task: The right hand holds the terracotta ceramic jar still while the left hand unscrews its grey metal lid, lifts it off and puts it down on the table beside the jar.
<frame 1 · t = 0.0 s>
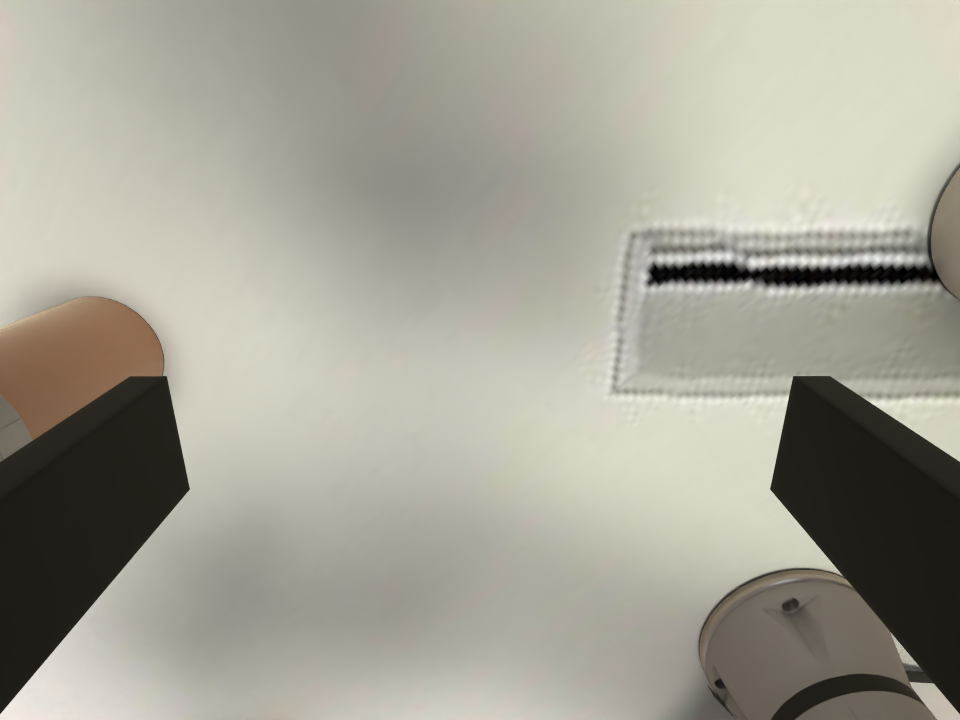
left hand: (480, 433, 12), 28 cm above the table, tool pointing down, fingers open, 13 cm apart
jar: (105, 353, 41), on the table
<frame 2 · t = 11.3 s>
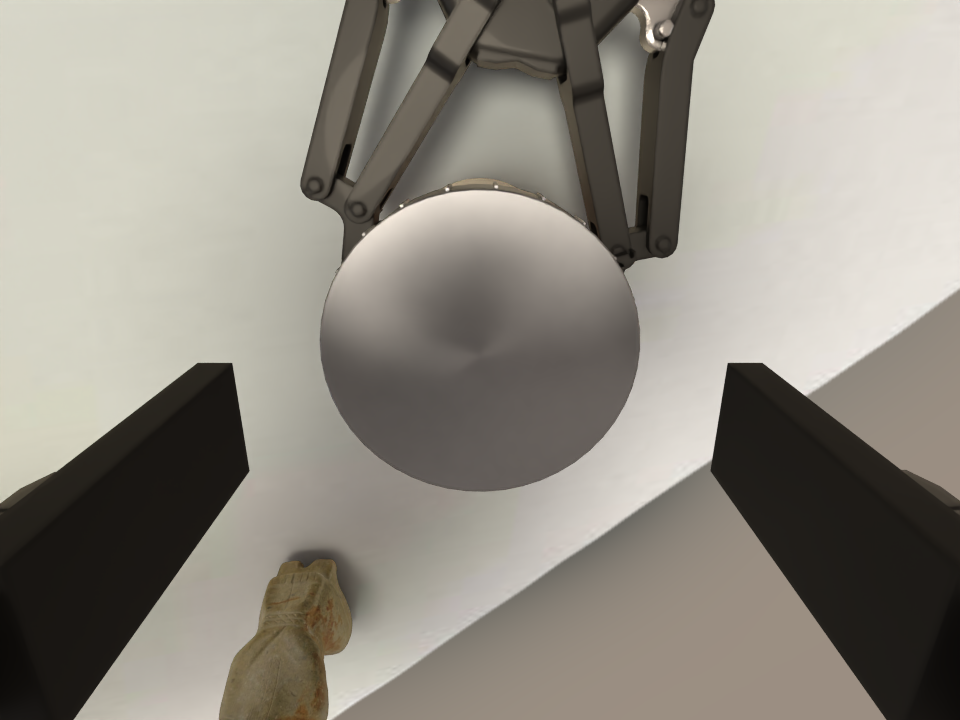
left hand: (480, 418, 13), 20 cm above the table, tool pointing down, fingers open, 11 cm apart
right hand: (464, 377, 28), fingers closed on jar, 8 cm apart
sculpture: (318, 586, 40), on the table
lid: (480, 351, 17), point 15 cm above the table, screwed on, not yet turned
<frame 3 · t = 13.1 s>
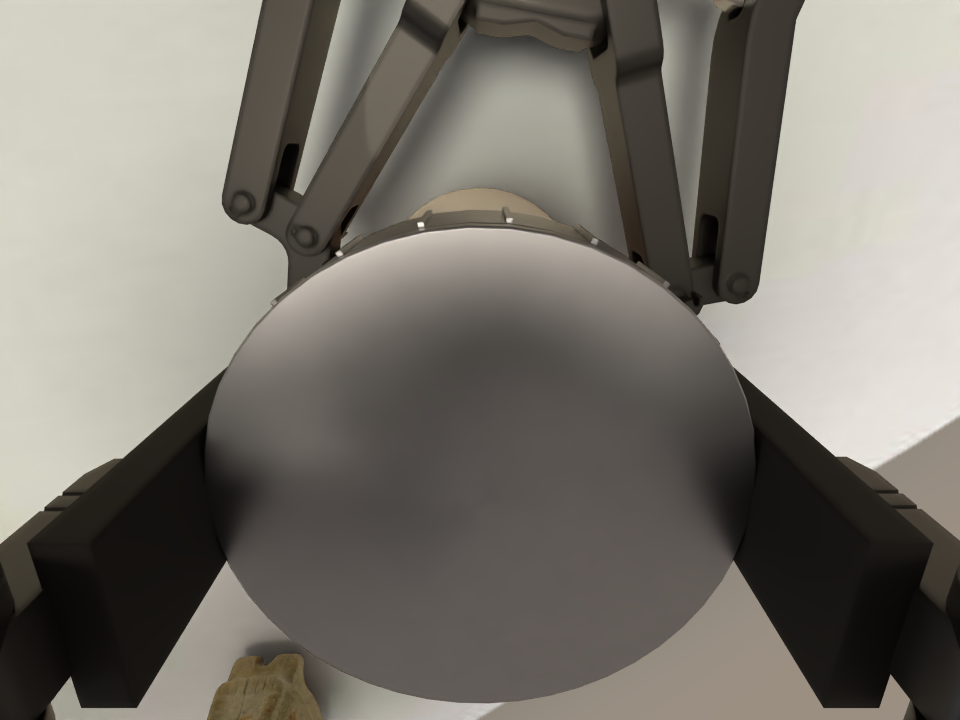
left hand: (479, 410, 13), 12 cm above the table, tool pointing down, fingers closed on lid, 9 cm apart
right hand: (458, 458, 20), fingers closed on jar, 8 cm apart
sculpture: (283, 682, 33), on the table
lid: (480, 493, 10), point 15 cm above the table, screwed on, not yet turned, touching left hand
jar: (479, 289, 25), on the table, touching right hand
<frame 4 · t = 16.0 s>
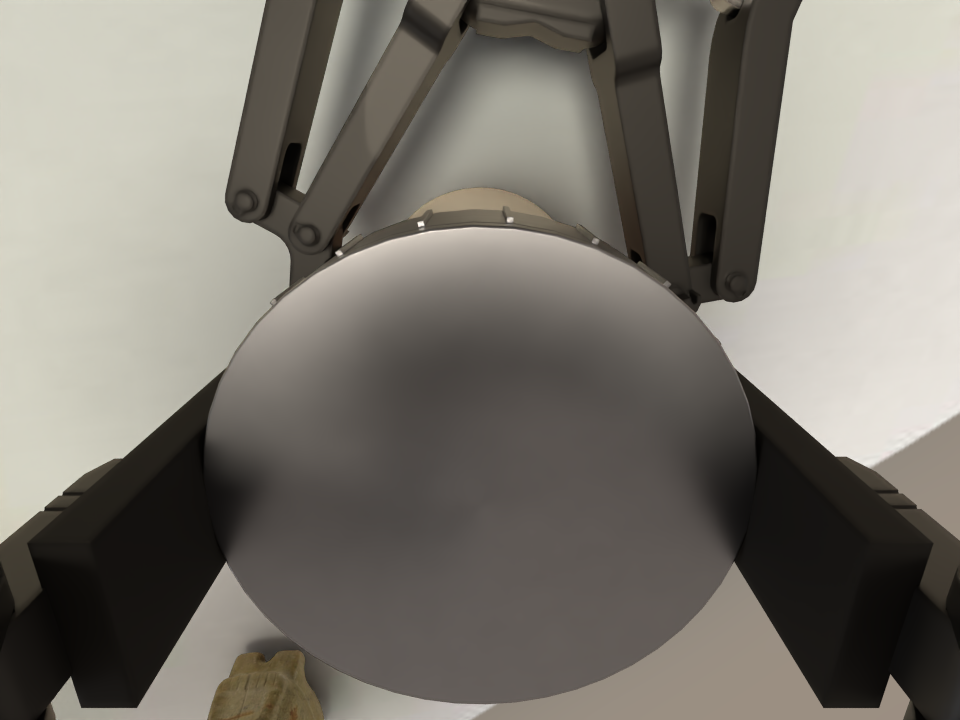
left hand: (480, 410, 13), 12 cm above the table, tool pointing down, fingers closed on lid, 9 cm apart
right hand: (458, 454, 21), fingers closed on jar, 8 cm apart
sculpture: (283, 679, 33), on the table
lid: (480, 493, 10), point 16 cm above the table, turned 82° so far, risen 0.2 cm, still on its thread, touching left hand
jar: (480, 288, 25), on the table, touching right hand
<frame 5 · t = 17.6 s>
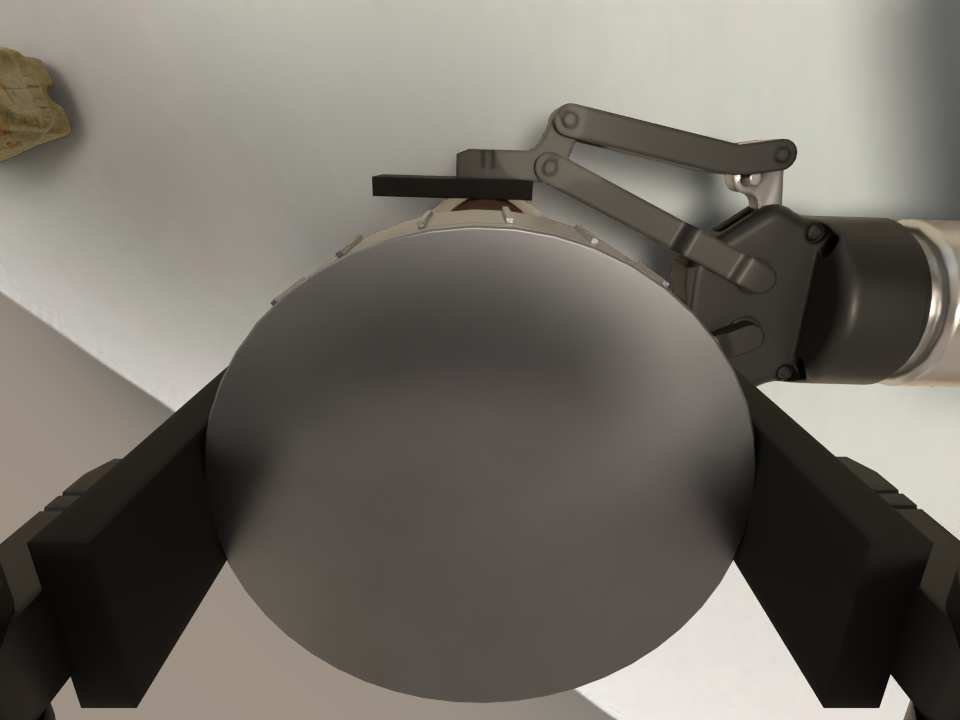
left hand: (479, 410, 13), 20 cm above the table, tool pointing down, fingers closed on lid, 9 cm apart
right hand: (381, 288, 26), fingers closed on jar, 8 cm apart
sculpture: (17, 111, 30), on the table
lid: (480, 492, 10), point 23 cm above the table, off its thread, touching left hand
jar: (484, 266, 32), on the table, touching right hand
when the left hand's fingers open (0 cm above the table, at t = 23.1 s): lid drops 2 cm, point 2 cm above the table.
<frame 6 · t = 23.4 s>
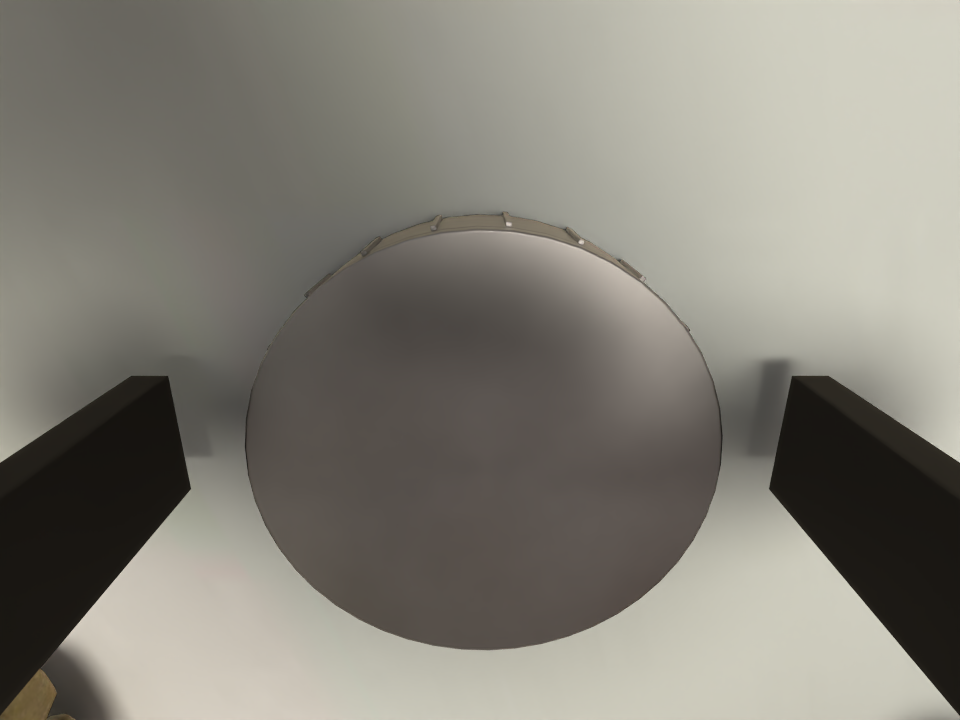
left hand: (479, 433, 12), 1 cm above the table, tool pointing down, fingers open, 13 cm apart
lid: (483, 460, 12), point 2 cm above the table, off its thread
when the right hand's fingers open (6 cm above the table, at t = 24.1 s): jar stays where it is, on the table.
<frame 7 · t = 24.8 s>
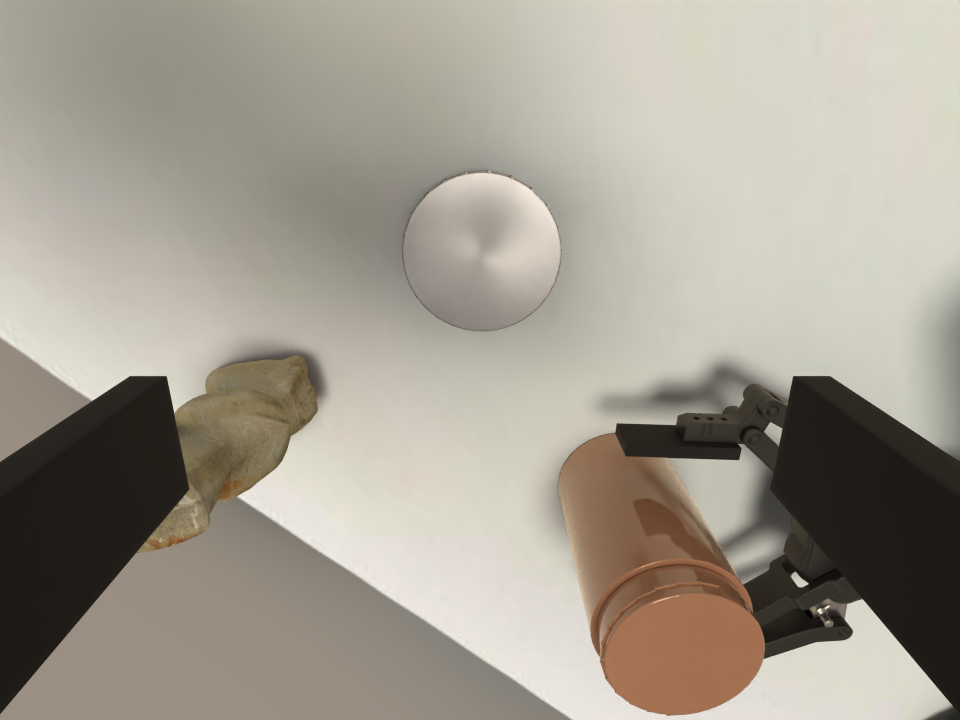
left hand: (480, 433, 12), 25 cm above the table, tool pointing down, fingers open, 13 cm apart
sculpture: (274, 382, 39), on the table
lid: (481, 254, 35), point 2 cm above the table, off its thread
jar: (615, 483, 42), on the table
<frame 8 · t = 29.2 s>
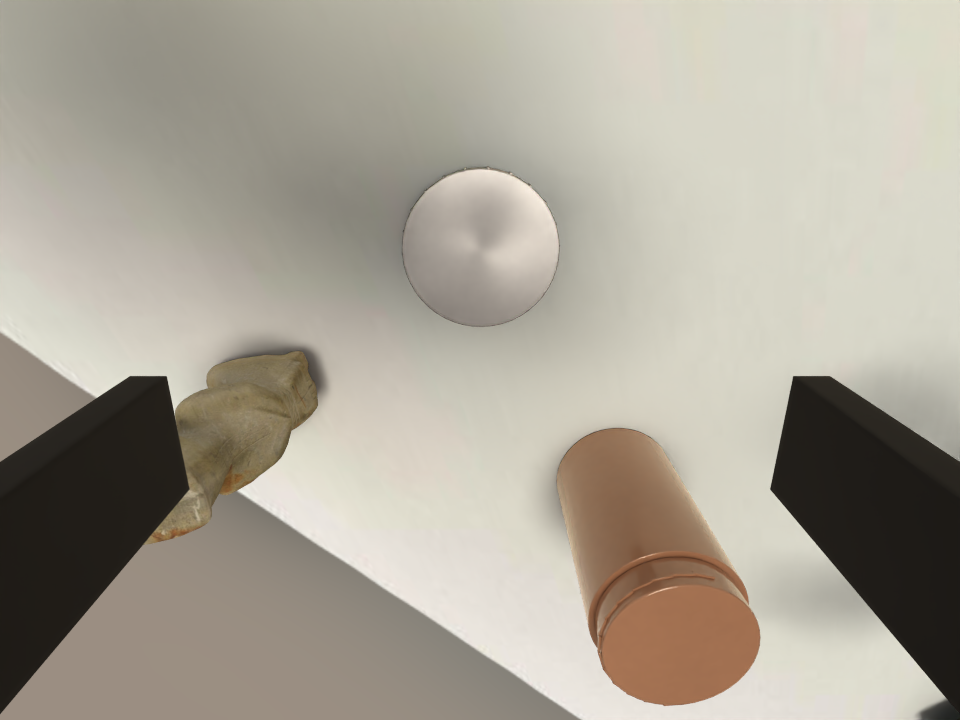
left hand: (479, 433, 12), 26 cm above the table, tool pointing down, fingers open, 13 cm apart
sculpture: (274, 378, 40), on the table
lid: (480, 250, 35), point 2 cm above the table, off its thread
jar: (613, 478, 43), on the table
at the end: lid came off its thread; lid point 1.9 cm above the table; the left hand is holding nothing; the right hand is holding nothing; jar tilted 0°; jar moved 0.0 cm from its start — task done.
